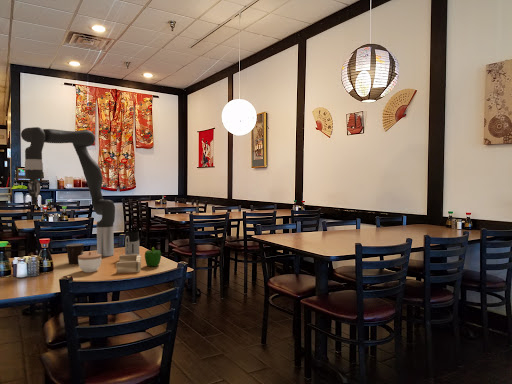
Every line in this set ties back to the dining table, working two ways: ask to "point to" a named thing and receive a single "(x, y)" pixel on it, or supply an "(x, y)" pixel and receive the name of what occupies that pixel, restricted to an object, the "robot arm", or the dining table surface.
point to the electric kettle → (131, 242)
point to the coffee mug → (74, 252)
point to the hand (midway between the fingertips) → (34, 204)
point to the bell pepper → (152, 257)
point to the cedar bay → (128, 263)
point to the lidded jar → (89, 262)
